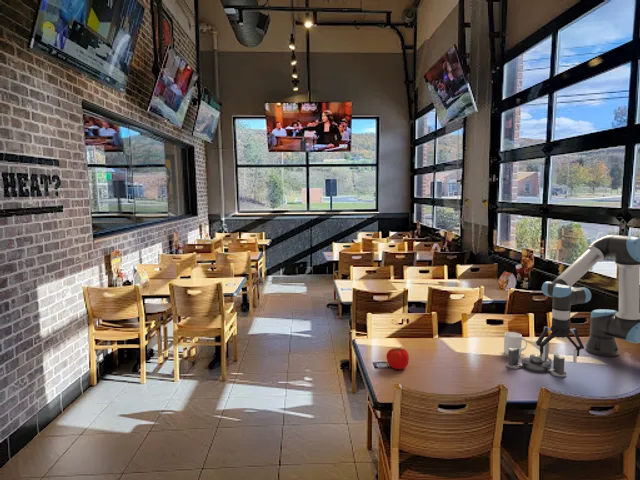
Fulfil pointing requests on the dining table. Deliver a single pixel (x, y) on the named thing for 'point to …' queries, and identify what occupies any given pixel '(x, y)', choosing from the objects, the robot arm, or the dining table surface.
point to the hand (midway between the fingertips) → (558, 361)
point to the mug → (513, 341)
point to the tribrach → (537, 365)
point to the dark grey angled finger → (513, 356)
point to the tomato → (397, 358)
